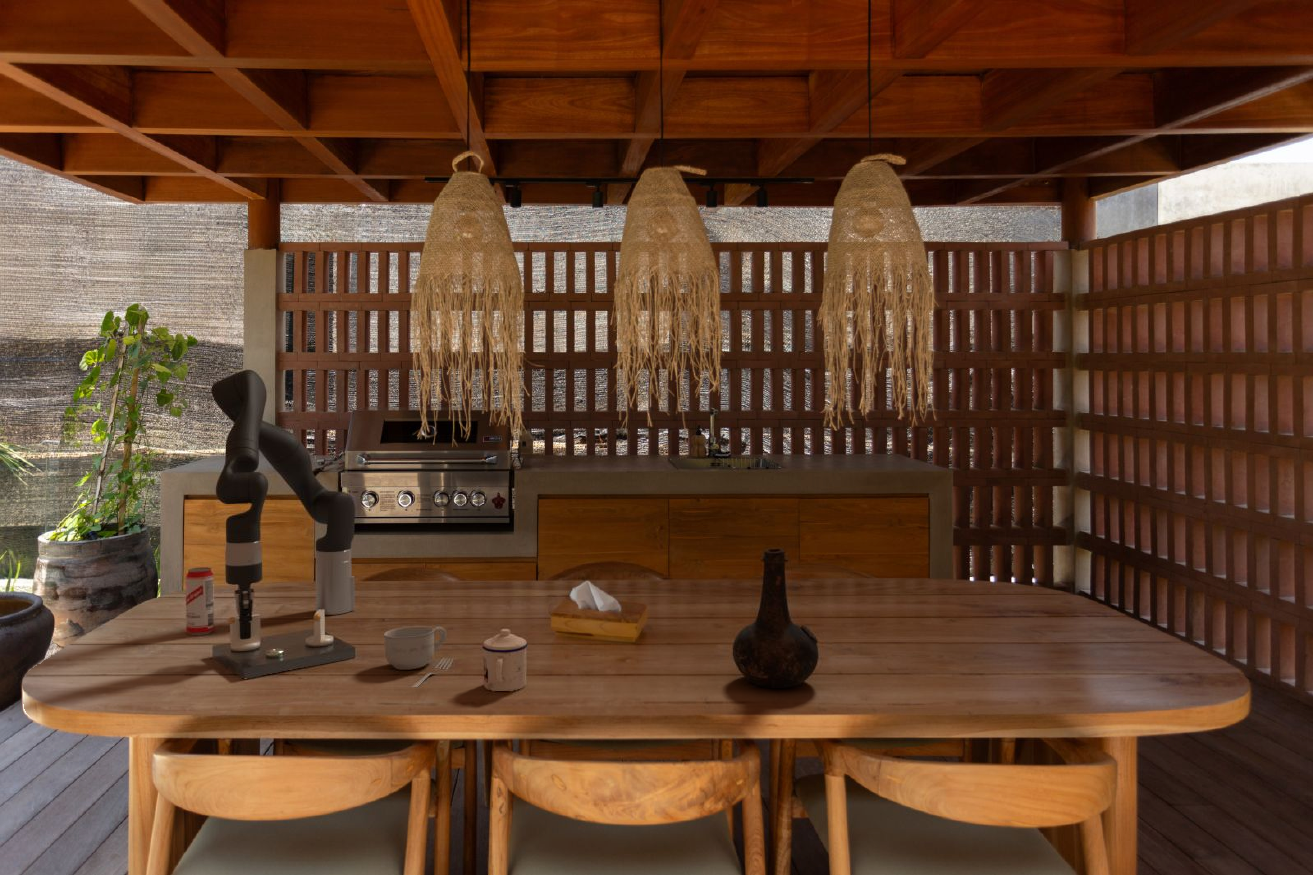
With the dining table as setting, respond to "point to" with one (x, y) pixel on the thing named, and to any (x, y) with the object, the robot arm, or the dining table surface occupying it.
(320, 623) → the knob
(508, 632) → the teacup with lid
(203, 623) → the beer can
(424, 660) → the teacup
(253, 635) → the knob
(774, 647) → the glass bottle
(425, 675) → the fork
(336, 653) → the levelling base
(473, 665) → the dining table surface
